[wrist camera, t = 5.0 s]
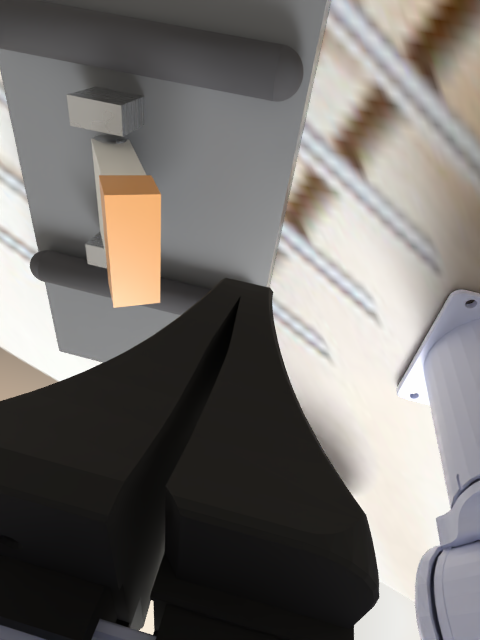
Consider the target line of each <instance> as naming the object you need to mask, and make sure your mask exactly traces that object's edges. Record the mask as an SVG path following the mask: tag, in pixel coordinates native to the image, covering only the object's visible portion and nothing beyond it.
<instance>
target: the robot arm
mask: <svg viewBox="0 0 480 640" xmlns="http://www.w3.org/2000/svg"><path fill="white" fill-rule="evenodd" d="M272 296H273V291H272V290H271V288H269V287H265V286H260V285H256V284H251V283H247V282H243V281H238V280H234V279H229V278H224V279H222V280H221V281H220V282H219V283H218V284H217V285H216V286H215V287H213V288H212V289H211V290H210V291H209V292H208V293H207V294H206V295H205V296H204V297H202V298H201V299H200V300H199V301H198V302H197V303H195V304H194V305H193V306H192V307H190V308H189V309H188V310H187V311H186V312H184V313H183V314H182V315H181V316H179V317H178V318H177V319H175V320H174V321H172V322H171V323H170V324H168V325H167V326H165V327H164V328H162V329H161V330H160V331H158V332H157V333H155V334H154V335H152V336H151V337H149V338H148V339H146V340H144V341H143V342H141V343H139V344H138V345H136V346H134V347H133V348H131V349H129V350H127V351H126V352H124V353H122V354H120V355H118V356H116V357H114V358H112V359H110V360H108V361H106V362H104V363H102V364H100V365H98V366H95V367H93V368H91V369H89V370H87V371H85V372H82V373H80V374H77V375H75V376H72V377H70V378H67V379H65V380H62V381H60V382H57V383H55V384H52V385H49V386H46V387H44V388H41V389H38V390H35V391H32V392H29V393H26V394H22V395H19V396H16V397H13V398H9V399H6V400H3V401H0V640H354V625H355V624H356V623H357V622H358V621H359V620H360V619H361V618H362V617H363V616H364V615H365V614H366V613H367V612H368V611H369V610H370V609H372V608H373V607H374V605H375V604H376V602H377V600H378V599H379V577H378V569H377V563H376V557H375V551H374V546H373V541H372V537H371V532H370V528H369V524H368V520H367V517H366V514H365V513H364V511H363V510H362V509H361V507H360V506H359V504H358V503H357V502H356V500H355V499H354V497H353V496H352V494H351V493H350V492H349V490H348V489H347V487H346V486H345V484H344V483H343V481H342V480H341V478H340V477H339V475H338V474H337V472H336V470H335V469H334V467H333V465H332V464H331V462H330V461H329V459H328V457H327V456H326V454H325V452H324V451H323V449H322V447H321V445H320V443H319V442H318V440H317V438H316V436H315V434H314V432H313V430H312V428H311V427H310V425H309V423H308V421H307V419H306V417H305V415H304V413H303V411H302V409H301V407H300V404H299V402H298V400H297V398H296V395H295V393H294V390H293V388H292V385H291V383H290V380H289V377H288V375H287V372H286V369H285V366H284V362H283V359H282V356H281V352H280V348H279V344H278V340H277V335H276V330H275V325H274V319H273V310H272ZM468 300H475V301H474V302H473V303H471V304H466V302H467V301H468ZM411 393H416V394H411ZM397 394H398V396H399V397H401V398H404V399H407V400H411V401H415V402H419V403H423V404H427V405H430V408H431V413H432V418H433V423H434V428H435V433H436V438H437V443H438V448H439V453H440V458H441V463H442V468H443V473H444V478H445V483H446V488H447V493H448V498H449V502H450V507H451V510H450V511H449V512H448V513H446V514H444V515H442V516H439V517H437V518H436V522H437V528H438V534H439V540H440V545H439V546H435V547H433V548H431V549H429V550H428V551H427V552H426V553H425V554H424V555H423V556H422V558H421V561H420V563H419V566H418V570H417V574H416V585H415V608H416V617H417V623H418V629H419V633H420V638H421V640H480V293H476V292H472V291H467V290H455V291H454V292H452V293H451V294H450V295H449V297H448V299H447V300H446V302H445V304H444V306H443V307H442V309H441V311H440V313H439V315H438V316H437V318H436V320H435V322H434V323H433V325H432V327H431V329H430V330H429V332H428V334H427V336H426V337H425V339H424V341H423V343H422V345H421V346H420V348H419V350H418V352H417V353H416V355H415V357H414V359H413V360H412V362H411V364H410V366H409V367H408V369H407V371H406V373H405V375H404V376H403V378H402V380H401V382H400V383H399V385H398V387H397ZM151 600H153V601H154V628H155V631H154V634H153V635H151V634H147V633H144V632H141V631H139V630H140V629H141V628H142V627H143V626H144V622H145V619H146V615H147V612H148V608H149V605H150V601H151Z"/></svg>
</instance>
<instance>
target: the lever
mask: <svg viewBox="0 0 480 640" xmlns="http://www.w3.org/2000/svg"><path fill="white" fill-rule="evenodd" d="M91 142H92V152H93V162H94V173H95V183H96V193H97V204H98V214H99V224H100V232H101V237H102V241H103V246H104V250H105V255H106V261H107V272H108V283H109V288H110V293H111V298H112V302H113V307H114V308H117V307H126V306H135V305H144V304H153V303H160V268H161V193H160V191H159V189H158V187H157V185H156V184H155V182H154V180H153V178H152V176H151V175H146V173H145V171H144V169H143V167H142V165H141V163H140V161H139V159H138V157H137V155H136V153H135V151H134V149H133V147H132V145H131V143H130V140H126V138H124V137H121V136H117V135H110V134H103V135H97V136H95V137H94V139H91Z"/></svg>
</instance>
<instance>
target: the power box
mask: <svg viewBox="0 0 480 640" xmlns="http://www.w3.org/2000/svg"><path fill="white" fill-rule="evenodd" d="M330 4H331V0H0V70H1V75H2V80H3V85H4V89H5V94H6V99H7V104H8V108H9V113H10V118H11V123H12V127H13V132H14V137H15V142H16V146H17V151H18V156H19V161H20V166H21V170H22V175H23V180H24V185H25V189H26V194H27V199H28V204H29V208H30V213H31V218H32V223H33V227H34V232H35V237H36V242H37V246H38V251H39V252H38V253H36V254H35V255H34V256H33V257H32V259H31V262H30V269H31V272H32V273H33V275H34V276H35V277H36V278H37V279H39V280H41V281H44V282H45V285H46V289H47V294H48V299H49V304H50V308H51V313H52V318H53V323H54V327H55V332H56V337H57V342H58V346H59V351H61V352H65V353H69V354H73V355H77V356H80V357H84V358H88V359H92V360H96V361H99V362H103V363H104V362H106V361H108V360H110V359H112V358H114V357H116V356H118V355H120V354H122V353H124V352H126V351H127V350H129V349H131V348H133V347H134V346H136V345H138V344H139V343H141V342H143V341H144V340H146V339H148V338H149V337H151V336H152V335H154V334H155V333H157V332H158V331H160V330H161V329H162V328H164V327H165V326H167V325H168V324H170V323H171V322H172V321H174V320H175V319H177V318H178V317H179V316H181V315H182V314H183V313H184V312H186V311H187V310H188V309H189V308H190V307H192V306H193V305H194V304H195V303H197V302H198V301H199V300H200V299H201V298H202V297H204V296H205V295H206V294H207V293H208V292H209V291H210V290H211V289H212V288H213V287H215V286H216V285H217V284H218V283H219V282H220V281H221V280H222V279H224V278H229V279H234V280H238V281H243V282H247V283H251V284H256V285H260V286H265V287H270V282H271V278H272V273H273V268H274V264H275V259H276V254H277V250H278V245H279V240H280V236H281V231H282V227H283V222H284V217H285V213H286V208H287V203H288V199H289V194H290V189H291V185H292V180H293V175H294V171H295V166H296V162H297V157H298V152H299V148H300V143H301V138H302V134H303V129H304V124H305V120H306V115H307V110H308V106H309V101H310V97H311V92H312V87H313V83H314V78H315V73H316V69H317V64H318V59H319V55H320V50H321V45H322V41H323V36H324V32H325V27H326V22H327V18H328V13H329V8H330ZM103 134H110V135H117V136H121V137H124V138H126V140H130V143H131V145H132V147H133V149H134V151H135V153H136V155H137V157H138V159H139V161H140V163H141V165H142V167H143V169H144V171H145V173H146V175H151V176H152V178H153V180H154V182H155V184H156V185H157V187H158V189H159V191H160V193H161V268H160V303H153V304H144V305H135V306H126V307H117V308H114V307H113V302H112V298H111V293H110V288H109V283H108V272H107V261H106V255H105V250H104V246H103V241H102V237H101V232H100V224H99V214H98V204H97V193H96V183H95V173H94V162H93V152H92V142H91V139H94V137H95V136H97V135H103Z"/></svg>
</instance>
